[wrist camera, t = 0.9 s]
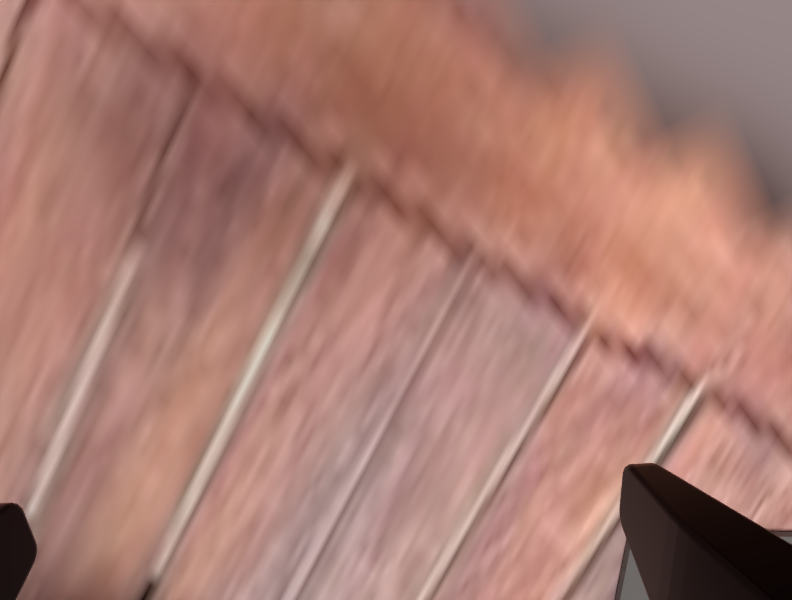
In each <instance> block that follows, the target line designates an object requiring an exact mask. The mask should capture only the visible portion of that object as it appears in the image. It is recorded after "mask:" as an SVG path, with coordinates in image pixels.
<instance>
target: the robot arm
mask: <svg viewBox="0 0 792 600" xmlns="http://www.w3.org/2000/svg"><path fill="white" fill-rule="evenodd" d="M620 520H621V524H622V527H623V530H624V533H625V536H626V538H627V541H628V544H629V546H630V549H631V552H632V555H633V557H634V560H635V563H636V565H637V568H638V571H639V573H640V576H641V579H642V582H643V584H644V587H645V590H646V592H647V595H648V598H649V600H792V544H790V543H789V542H787V541H785V540H784V539H782V538H780V537H778V536H777V535H775V534H773V533H772V532H770V531H768V530H767V529H765V528H763V527H762V526H760V525H758V524H757V523H755V522H753V521H752V520H750V519H748V518H747V517H745V516H743V515H741V514H740V513H738V512H736V511H735V510H733V509H731V508H730V507H728V506H726V505H725V504H723V503H721V502H720V501H718V500H716V499H715V498H713V497H711V496H710V495H708V494H706V493H704V492H703V491H701V490H699V489H698V488H696V487H694V486H693V485H691V484H689V483H688V482H686V481H684V480H683V479H681V478H679V477H678V476H676V475H674V474H673V473H671V472H669V471H667V470H666V469H664V468H662V467H661V466H659V465H657V464H654V463H643V464H630V465H628V466H626V467H625V469H624V471H623V477H622V488H621V498H620ZM36 554H37V544H36V541H35V539H34V536H33V534H32V531H31V529H30V526H29V524H28V521H27V519H26V516H25V514H24V511H23V510H22V508H21V507H20V506H19V505H18V504H15V503H0V600H16V598H17V596H18V594H19V592H20V590H21V588H22V586H23V584H24V582H25V580H26V578H27V576H28V574H29V572H30V570H31V568H32V566H33V564H34V561H35V558H36Z"/></svg>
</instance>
